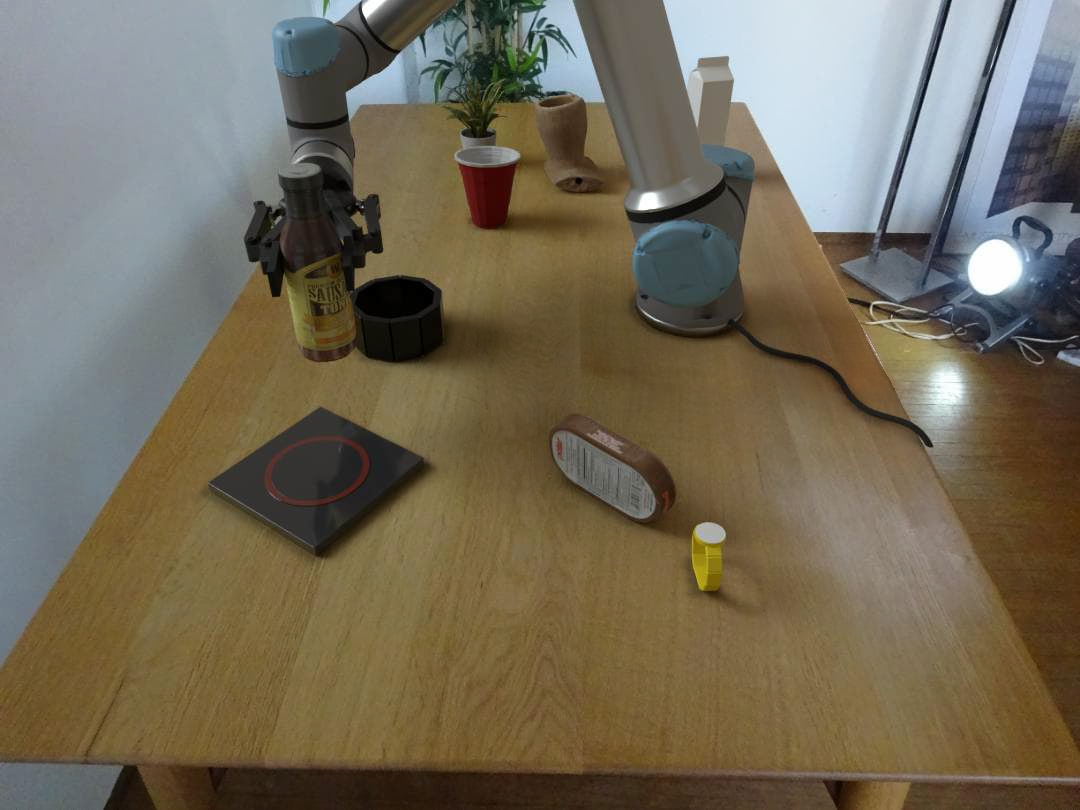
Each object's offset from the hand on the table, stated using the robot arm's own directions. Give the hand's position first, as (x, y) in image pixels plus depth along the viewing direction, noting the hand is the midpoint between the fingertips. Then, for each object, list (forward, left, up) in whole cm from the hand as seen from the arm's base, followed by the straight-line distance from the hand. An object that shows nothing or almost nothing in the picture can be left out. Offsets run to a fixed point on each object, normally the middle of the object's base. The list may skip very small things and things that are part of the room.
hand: (311, 281), depth 76 cm
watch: (-40, -7, -22) cm, 47 cm away
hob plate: (0, +4, -22) cm, 22 cm away
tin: (-27, -11, -22) cm, 37 cm away
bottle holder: (+12, -22, -22) cm, 33 cm away
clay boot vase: (+23, -81, -22) cm, 87 cm away
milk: (+3, -96, -22) cm, 98 cm away
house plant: (+42, -79, -22) cm, 92 cm away
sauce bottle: (+4, -4, -11) cm, 12 cm away
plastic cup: (+24, -58, -22) cm, 66 cm away
